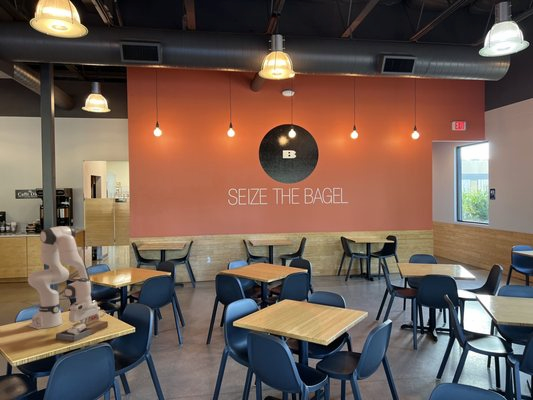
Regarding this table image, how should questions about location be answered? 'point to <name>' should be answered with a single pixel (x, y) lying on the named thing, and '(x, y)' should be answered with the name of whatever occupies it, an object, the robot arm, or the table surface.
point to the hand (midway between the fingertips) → (84, 325)
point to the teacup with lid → (96, 315)
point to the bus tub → (72, 338)
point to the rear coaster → (79, 327)
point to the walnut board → (95, 326)
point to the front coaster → (73, 331)
